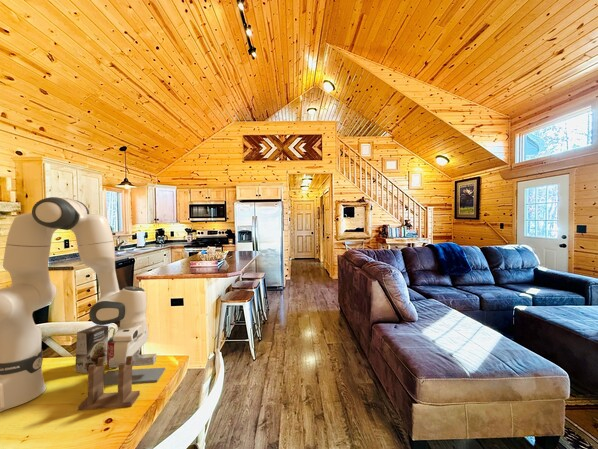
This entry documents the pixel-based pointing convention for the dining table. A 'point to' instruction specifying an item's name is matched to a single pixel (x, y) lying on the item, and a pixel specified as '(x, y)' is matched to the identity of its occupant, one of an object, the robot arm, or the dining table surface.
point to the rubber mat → (135, 376)
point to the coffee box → (91, 347)
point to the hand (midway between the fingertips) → (132, 362)
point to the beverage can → (110, 350)
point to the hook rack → (109, 400)
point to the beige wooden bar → (137, 360)
